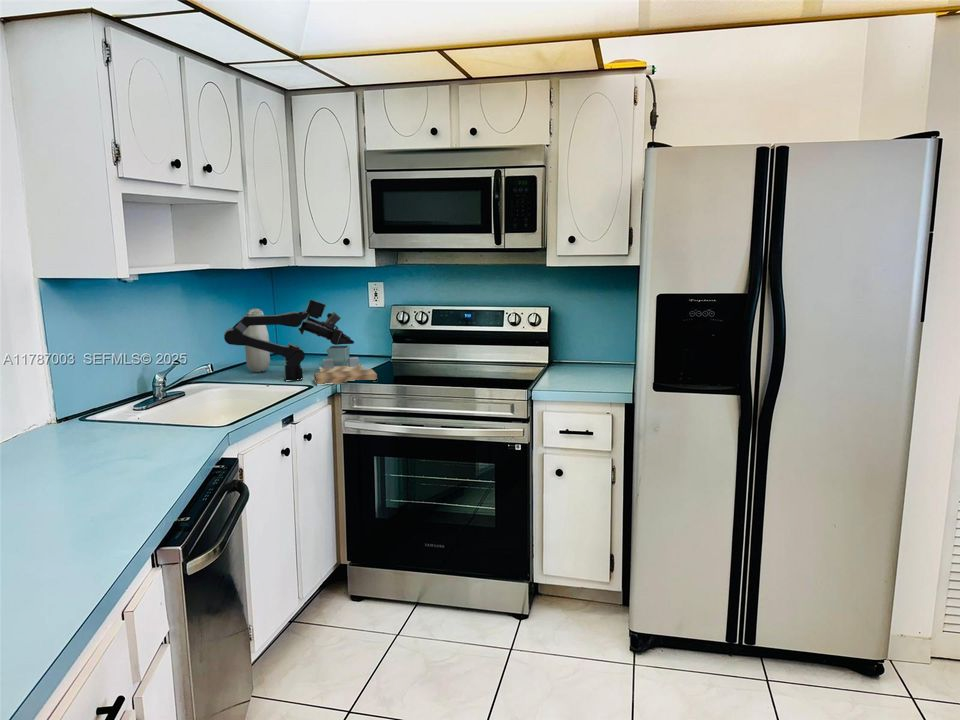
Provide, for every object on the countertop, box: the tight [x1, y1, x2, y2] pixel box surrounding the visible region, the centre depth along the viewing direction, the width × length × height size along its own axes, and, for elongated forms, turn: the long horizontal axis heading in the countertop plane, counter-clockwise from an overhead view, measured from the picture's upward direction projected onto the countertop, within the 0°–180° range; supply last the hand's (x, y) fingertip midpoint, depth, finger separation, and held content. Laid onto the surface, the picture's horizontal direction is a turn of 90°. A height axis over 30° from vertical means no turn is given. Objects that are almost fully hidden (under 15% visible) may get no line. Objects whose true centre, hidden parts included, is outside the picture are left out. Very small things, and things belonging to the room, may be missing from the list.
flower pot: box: [326, 344, 351, 366], centre depth 315 cm, size 9×9×9 cm
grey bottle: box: [243, 308, 271, 373], centre depth 302 cm, size 10×10×28 cm
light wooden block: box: [318, 363, 364, 373], centre depth 295 cm, size 18×6×4 cm, turn 109°
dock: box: [313, 368, 378, 386], centre depth 283 cm, size 24×11×3 cm, turn 109°
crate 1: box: [322, 358, 334, 369], centre depth 292 cm, size 4×4×4 cm
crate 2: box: [347, 356, 360, 367], centre depth 296 cm, size 4×4×4 cm
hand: (351, 340), depth 293 cm, fingers open, 9 cm apart
